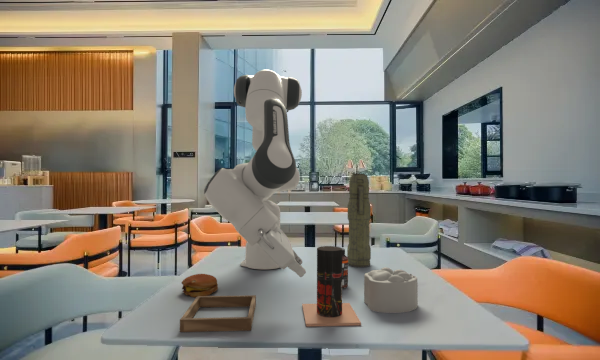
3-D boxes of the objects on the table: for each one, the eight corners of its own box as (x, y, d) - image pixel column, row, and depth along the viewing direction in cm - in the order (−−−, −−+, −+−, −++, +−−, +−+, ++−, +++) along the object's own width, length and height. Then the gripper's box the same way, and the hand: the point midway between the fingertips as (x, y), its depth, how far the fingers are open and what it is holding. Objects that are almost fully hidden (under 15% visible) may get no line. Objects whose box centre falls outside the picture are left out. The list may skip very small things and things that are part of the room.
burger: (218, 286, 100) (218, 270, 100) (216, 296, 91) (216, 279, 91) (184, 288, 98) (184, 272, 98) (178, 299, 89) (178, 281, 89)
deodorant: (315, 308, 80) (315, 246, 81) (339, 307, 81) (339, 245, 81) (318, 317, 74) (319, 251, 75) (344, 317, 75) (344, 250, 75)
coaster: (302, 306, 83) (302, 303, 83) (349, 305, 84) (349, 303, 84) (306, 326, 71) (306, 323, 71) (361, 325, 72) (361, 322, 72)
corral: (197, 306, 83) (197, 296, 83) (255, 305, 84) (255, 295, 84) (179, 332, 68) (179, 319, 68) (250, 330, 69) (251, 318, 69)
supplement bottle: (347, 290, 96) (347, 251, 97) (327, 288, 98) (327, 250, 98) (348, 284, 102) (348, 247, 102) (329, 282, 103) (329, 246, 104)
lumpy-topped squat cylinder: (361, 298, 89) (361, 266, 89) (408, 297, 90) (408, 265, 90) (372, 313, 79) (372, 276, 79) (425, 312, 80) (425, 276, 80)
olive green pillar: (351, 268, 121) (351, 173, 122) (344, 261, 133) (344, 174, 134) (375, 268, 122) (375, 173, 123) (365, 260, 134) (365, 174, 135)
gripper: (268, 222, 67) (316, 270, 67) (270, 213, 87) (307, 250, 88) (246, 244, 66) (294, 292, 67) (253, 230, 87) (290, 267, 87)
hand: (302, 268), depth 77 cm, fingers open, 8 cm apart
